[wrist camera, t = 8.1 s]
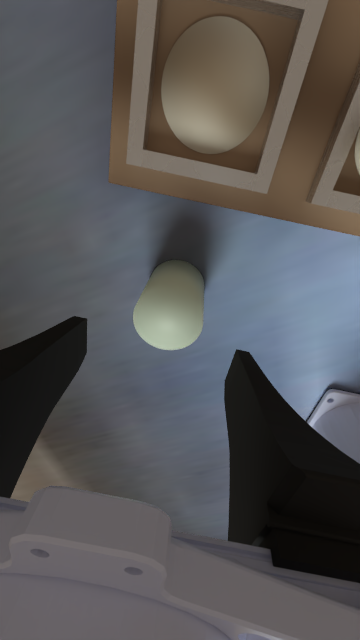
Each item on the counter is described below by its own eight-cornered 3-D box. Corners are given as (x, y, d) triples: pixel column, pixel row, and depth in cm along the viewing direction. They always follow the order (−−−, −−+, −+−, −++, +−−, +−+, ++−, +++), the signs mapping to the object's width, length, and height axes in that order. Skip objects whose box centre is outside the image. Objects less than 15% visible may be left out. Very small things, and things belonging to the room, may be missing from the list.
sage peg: (197, 315, 21) (194, 356, 17) (146, 304, 21) (130, 342, 17) (210, 266, 19) (210, 297, 15) (153, 254, 19) (136, 282, 15)
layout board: (430, 249, 17) (455, 259, 15) (113, 181, 17) (102, 183, 15) (577, 26, 12) (639, 4, 10) (127, -76, 12) (113, -116, 10)
